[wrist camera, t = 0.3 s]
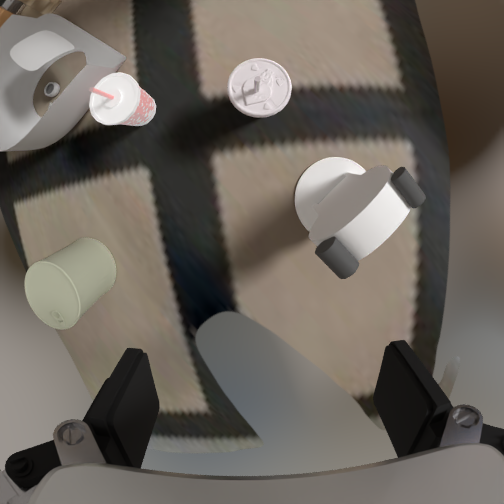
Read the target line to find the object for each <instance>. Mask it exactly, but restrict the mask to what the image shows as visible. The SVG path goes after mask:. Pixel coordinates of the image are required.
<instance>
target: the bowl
mask: <svg viewBox="0 0 504 504" xmlns="http://www.w3.org/2000/svg"><path fill="white" fill-rule="evenodd" d="M76 51H82V52H84V54H85V56H86V62H87V65H86V66H85V67H84V68H83V69H82V70H81V71H80V72H79V74H78V75H77V76H76V77H75V78H74V79H73V80H72V81H71V83H70V84H69V85H68V86H67V87H66V89H65V90H64V91H63V92H62V93H61V95H60V96H59V97H58V98H57V100H56V99H55V100H56V101H54V102H53V103H51V104H52V105H51V104H50V106H49V107H50V108H49V107H48V110H47V112H46V113H45V114H44V116H43V117H42V118H41V117H40V116H39V115H38V114H37V113H36V111H35V109H34V106H33V94H34V91H35V88H36V86H37V83H38V82H39V80H40V78H41V77H42V75H43V74H44V72H45V71H46V70H47V69H48V68H49V66H51V65H52V64H53V63H54V62H55V61H56V60H58V59H59V58H62V57H63V56H65V55H67V54H69V53H72V52H76ZM125 60H126V57H125V56H124V55H122V54H121V53H119V52H118V51H116V50H114V49H113V48H111V47H110V46H108V45H107V44H105V43H103V42H102V41H100V40H99V39H97V38H95V37H94V36H92V35H91V34H89V33H87V32H86V31H84V30H83V29H81V28H79V27H78V26H76V25H74V24H73V23H71V22H69V21H68V20H66V19H64V18H63V17H61V16H59V15H56V14H52V13H49V14H44V15H42V16H40V17H38V18H32V17H26V16H20V15H14V14H12V15H11V16H10V17H9V18H8V19H7V20H6V21H5V23H4V24H3V25H2V26H1V27H0V152H2V151H27V150H35V149H41V148H45V147H47V146H49V145H51V144H53V143H55V142H57V141H58V140H59V139H61V138H62V137H63V136H65V135H66V134H67V133H68V132H69V131H70V130H71V129H72V128H73V127H74V126H75V125H76V124H77V123H78V121H79V120H80V119H81V118H82V117H83V115H84V114H85V113H86V112H87V110H88V109H89V108H90V107H89V103H90V95H91V93H92V92H90V90H89V89H90V88H91V87H95V85H96V84H97V83H98V82H99V81H100V80H101V79H102V78H104V77H106V76H107V75H109V74H111V73H116V71H117V70H118V69H119V67H120V66H121V65H122V64H123V62H124V61H125ZM59 91H60V86H59V85H58V84H57V83H56V82H49V83H48V84H47V85H46V87H45V89H44V93H45V95H46V96H48V97H54V96H56V95H57V94H58V93H59Z"/></svg>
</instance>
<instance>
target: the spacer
mask: <svg viewBox="0 0 504 504" xmlns="http://www.w3.org/2000/svg"><path fill="white" fill-rule="evenodd" d="M12 14H13V13H11V12H9V11H7V10H5V9H4V8H2V7H1V6H0V27H1V26H2V25H3V24H4V23H5V21H6V20H7V19H8V18H9V17H10V16H11V15H12ZM14 15H15V14H14Z"/></svg>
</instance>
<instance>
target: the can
mask: <svg viewBox="0 0 504 504" xmlns="http://www.w3.org/2000/svg"><path fill="white" fill-rule="evenodd" d="M115 279H116V265H115V261H114V258H113V256H112V254H111V253H110V251H109V250H108V248H107V247H106V246H105V245H104V244H102V243H101V242H99V241H98V240H96V239H93V238H80V239H78V240H76V241H75V242H73V243H72V244H71V245H69V246H67V247H65V248H63V249H62V250H60V251H58V252H56V253H54V254H52V255H50V256H49V257H47V258H45V259H43V260H41V261H39V262H36V263H34V264H33V265H32V266H31V267H30V268H29V269H28V271H27V273H26V277H25V293H26V297H27V300H28V303H29V304H30V307H31V308H32V310H33V312H34V313H35V314H36V316H37V317H38V318H39V319H40V320H41V321H42V322H44V323H45V324H47V325H48V326H50V327H52V328H55V329H59V330H65V329H69V328H71V327H72V326H74V325H75V324H76V323H77V321H78V320H79V319H80V318H81V316H82V315H83V314H84V313H85V312H86V311H87V310H88V309H89V308H90V307H91V306H92V305H93V304H94V303H95V302H96V301H97V300H98V299H99V298H100V297H101V296H102V295H103V294H105V293H106V292H108V291H109V290H110V289H111V288H112V286H113V284H114V282H115Z"/></svg>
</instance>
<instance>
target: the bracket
mask: <svg viewBox="0 0 504 504" xmlns="http://www.w3.org/2000/svg"><path fill="white" fill-rule="evenodd" d="M19 1H21V2H23V3H24V4H26V5H27V6H26V7H25V8H24V9H23V11H22V12H21V13H20V16H26V17H32V18H38V17H40V16H42V15H44V14H49V13H52V12H53V11H54V10H55V9H56V7H57V6H58V5H59V4H60V3H61V2H62V1H61V0H19Z"/></svg>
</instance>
